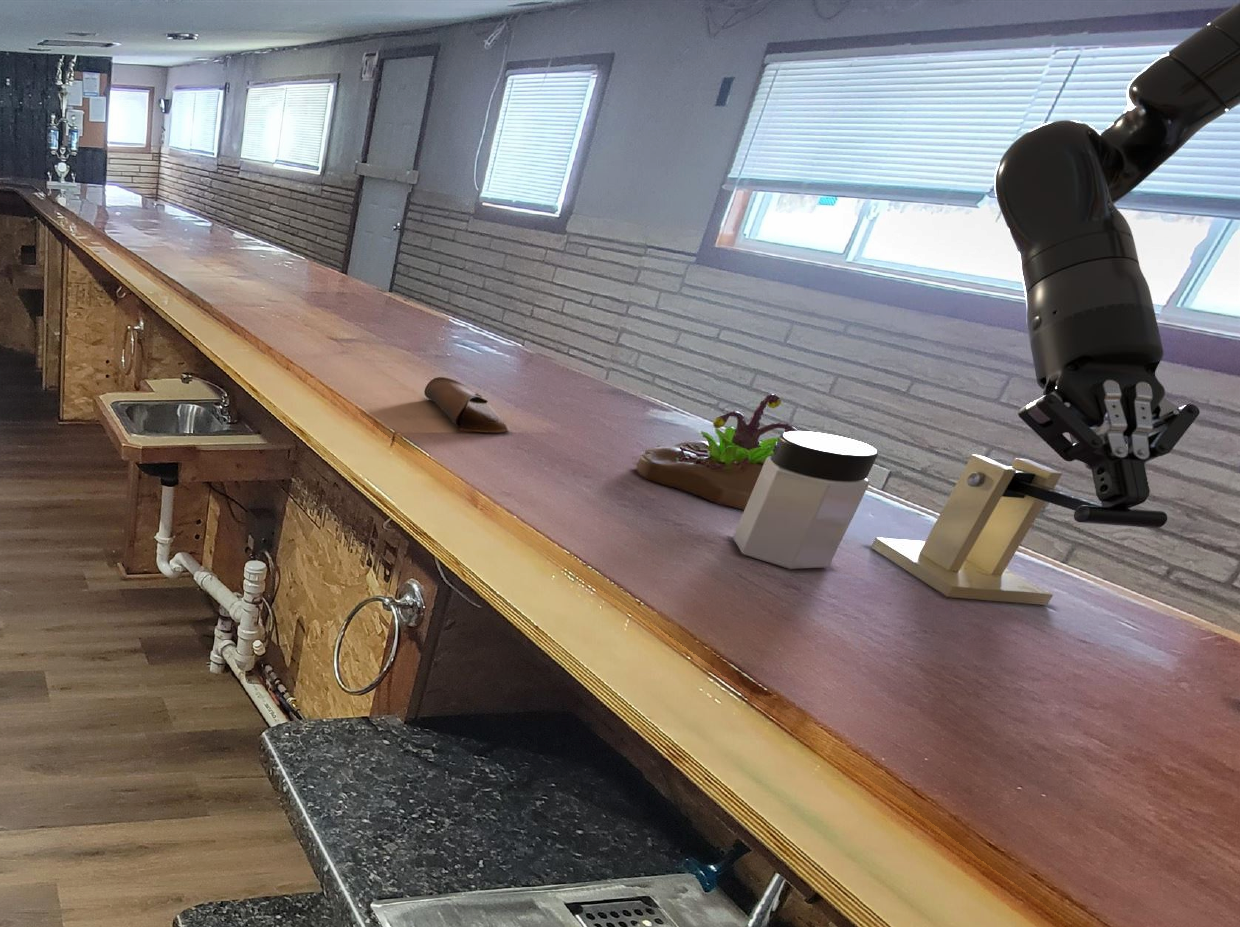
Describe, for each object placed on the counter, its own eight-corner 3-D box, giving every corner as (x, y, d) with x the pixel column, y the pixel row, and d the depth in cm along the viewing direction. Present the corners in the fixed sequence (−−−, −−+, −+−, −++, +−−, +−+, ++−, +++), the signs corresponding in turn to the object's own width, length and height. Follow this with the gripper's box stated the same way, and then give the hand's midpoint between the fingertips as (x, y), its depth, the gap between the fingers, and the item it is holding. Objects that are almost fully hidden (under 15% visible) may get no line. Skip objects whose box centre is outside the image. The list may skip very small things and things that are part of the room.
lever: (1159, 535, 75) (1174, 508, 74) (1082, 530, 76) (1096, 502, 75) (1021, 492, 88) (1033, 468, 87) (956, 487, 88) (967, 463, 87)
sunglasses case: (514, 431, 129) (500, 389, 126) (466, 453, 130) (451, 413, 128) (474, 398, 144) (461, 361, 141) (432, 418, 146) (418, 382, 143)
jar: (783, 536, 99) (832, 430, 93) (847, 568, 92) (904, 455, 86) (712, 538, 97) (756, 430, 91) (771, 571, 90) (824, 456, 84)
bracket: (1047, 605, 86) (1121, 489, 80) (947, 597, 87) (1013, 481, 81) (958, 554, 96) (1018, 448, 90) (870, 547, 97) (924, 441, 91)
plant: (860, 500, 110) (904, 410, 104) (764, 522, 102) (806, 426, 97) (705, 452, 125) (736, 371, 120) (611, 467, 118) (640, 381, 112)
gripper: (1050, 295, 77) (1085, 479, 72) (1218, 305, 75) (1264, 493, 71) (973, 346, 84) (1000, 516, 79) (1125, 356, 83) (1162, 529, 78)
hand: (1125, 505), depth 75 cm, fingers closed
